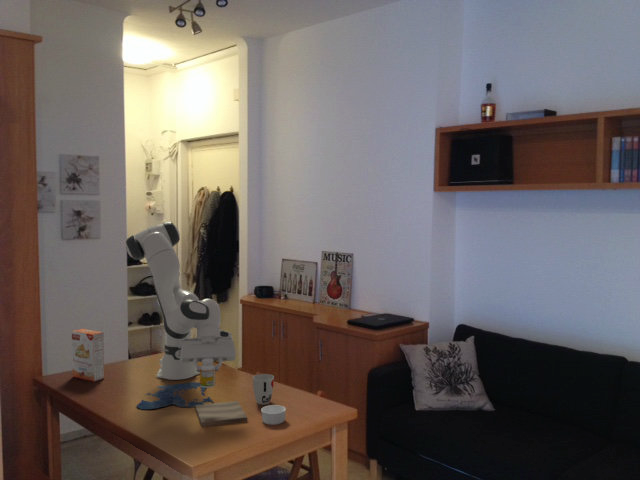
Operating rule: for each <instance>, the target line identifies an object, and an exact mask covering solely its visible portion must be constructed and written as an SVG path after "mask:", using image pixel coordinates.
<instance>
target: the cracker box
mask: <svg viewBox="0 0 640 480" xmlns="http://www.w3.org/2000/svg"><path fill="white" fill-rule="evenodd" d="M104 345H105V343H104V332H103V331H96V330H93V329H86V328H79V329H74V330H72V331H71V350H72V351H71V354H72V355H71V358H72V359H71V360H72V377H73V378H76V379H80V380H86V381H89V382H98V381H100V380H103V379H105V359H104V358H105V357H104V356H105V355H104V354H105V351H104V350H105V349H104V347H105V346H104Z"/></svg>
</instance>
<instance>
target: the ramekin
mask: <svg viewBox="0 0 640 480" xmlns="http://www.w3.org/2000/svg"><path fill="white" fill-rule="evenodd" d="M286 411H287V409H286V406H283V405H279V404H271V405H270V404H268V405H265V406H263V407H262V408H261V409H260V413H261V417H262V418H261V420H262V422H263V423H264V424H266V425H275V426H276V425H280V424H282V423H284V422H285V420H286Z"/></svg>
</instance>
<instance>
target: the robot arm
mask: <svg viewBox="0 0 640 480" xmlns="http://www.w3.org/2000/svg"><path fill="white" fill-rule="evenodd" d="M180 235H181V234H180V231H179V229H178V227H177V226H176V225H175V224H174V223H173V222H171V221H164V222H162V223H161V224H155V225H153V226H150V227H147V228H146V229H144V230H142V231H139V232H137V233H136V234H134V235H131V236H129V237H128V238H126V241H125V243H126V244H125V248H126V249H125V250H126V252H127V254H128V255H129V256H130V258H132V259H133V260H135V261H139V260H144V259H145V260H146V263H147V265H148V269H149V270H150V272H151V275H152V277H153V285H154V291H155V294H156V301H157V302H156V303H157V304H158V306H159V307H160V311H161V313H162V316H163V317H162V318H163V327H164V332H165V337H164V338H165V344H164V348H163V350H164V355H163V356H162V358H161V359H159V365H160V366H159V367H160V368H159V369H158V372H157V374H156V378H158V379H159V378H160V379H165V380H171V381H172V380H173V381H174V380H175V381H176V380H186V379H190V378H192V377H194V376H197V375H200V367H201V365H199V364H198V363H202V359H205V358H212V359H213V362H218V363H217V364H214V365H215V372H220V367H221V366H222V365H223V362H234V361H235V360H236V358H237V357H236V354H237V353H236V346H235V345H236V344H235V341H234V340H233V334H232V333H231V332H229V331H225V330H222V329H221V324H222V322H221V321H222V320H221V319H222V316H221V308H220V305H219V303H218V302H217V301H216V300H214V299H211V298H204V299H202V300H201V299H199V297H198V296H197V295H196V294H195V293H193V292H191V291H190V290H188V289H187V290H186V289H184V288H182V286H181V284H180V275H181V272H180V268H181V265H180V259H179V257H178V255H177V252H176V251H175V248H174V247H175V246H176V245H177V244H178V243H179V242H180V240H181V239H180ZM194 328H195V329H196V337H193V338H192V329H194Z"/></svg>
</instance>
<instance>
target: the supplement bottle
mask: <svg viewBox="0 0 640 480" xmlns="http://www.w3.org/2000/svg"><path fill="white" fill-rule="evenodd" d="M201 364H202V365H200V374H199V380H200V381H199V383H200V386H201V387H203V388H206V389H207V388H208V389H209V388H213V387H215V386H216V371H215V365H216V364H214V361H213V359H212V358H205V359H202V362H201ZM201 387H200V388H201Z"/></svg>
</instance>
